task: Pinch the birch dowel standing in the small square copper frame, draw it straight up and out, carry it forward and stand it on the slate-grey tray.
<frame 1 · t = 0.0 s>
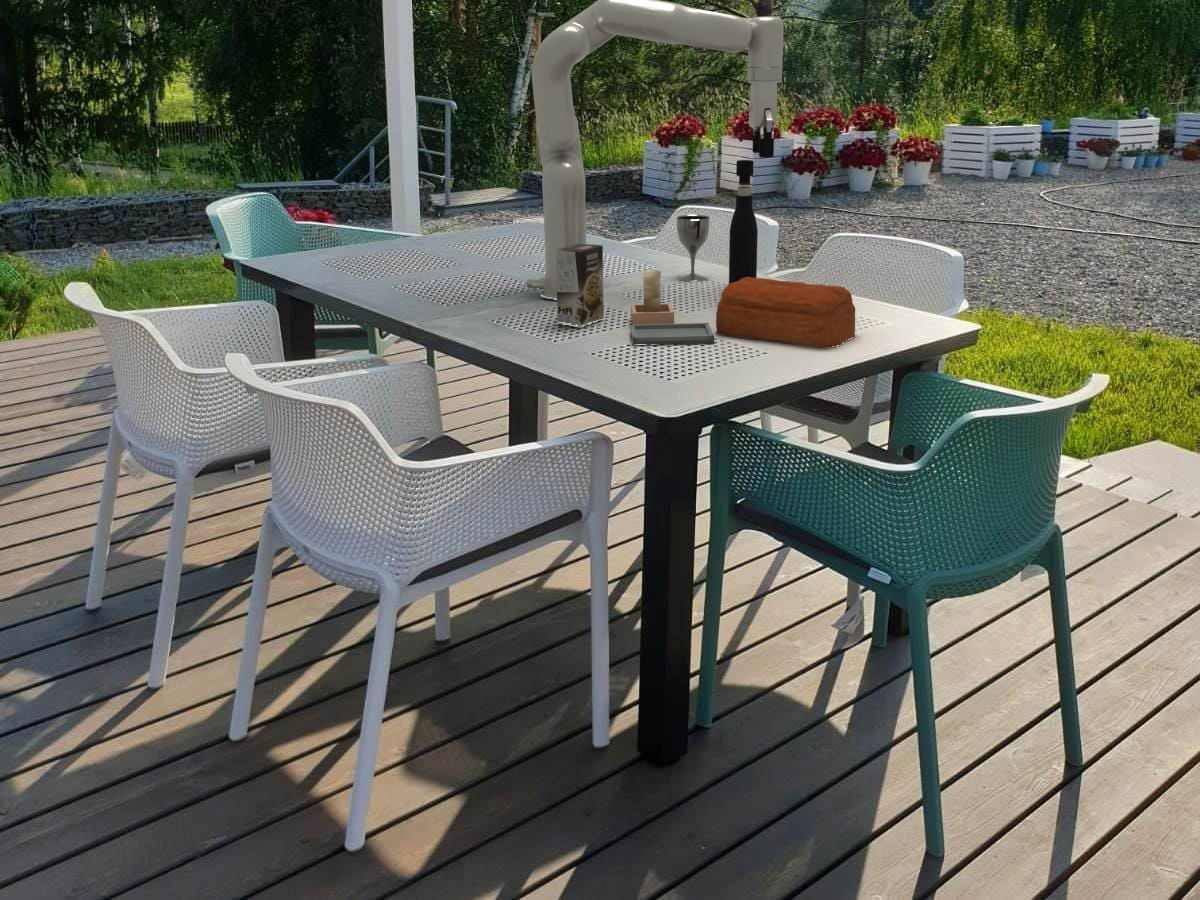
hand: (762, 154, 278), 31 cm above the table, tool pointing down, fingers open, 9 cm apart
bread: (784, 336, 250), on the table
dowel: (652, 297, 259), in the square copper frame
wine glass: (692, 279, 304), on the table
square copper frame: (652, 323, 261), on the table
coffee box: (581, 323, 262), on the table
tray: (671, 337, 248), on the table
wine bottle: (742, 292, 288), on the table
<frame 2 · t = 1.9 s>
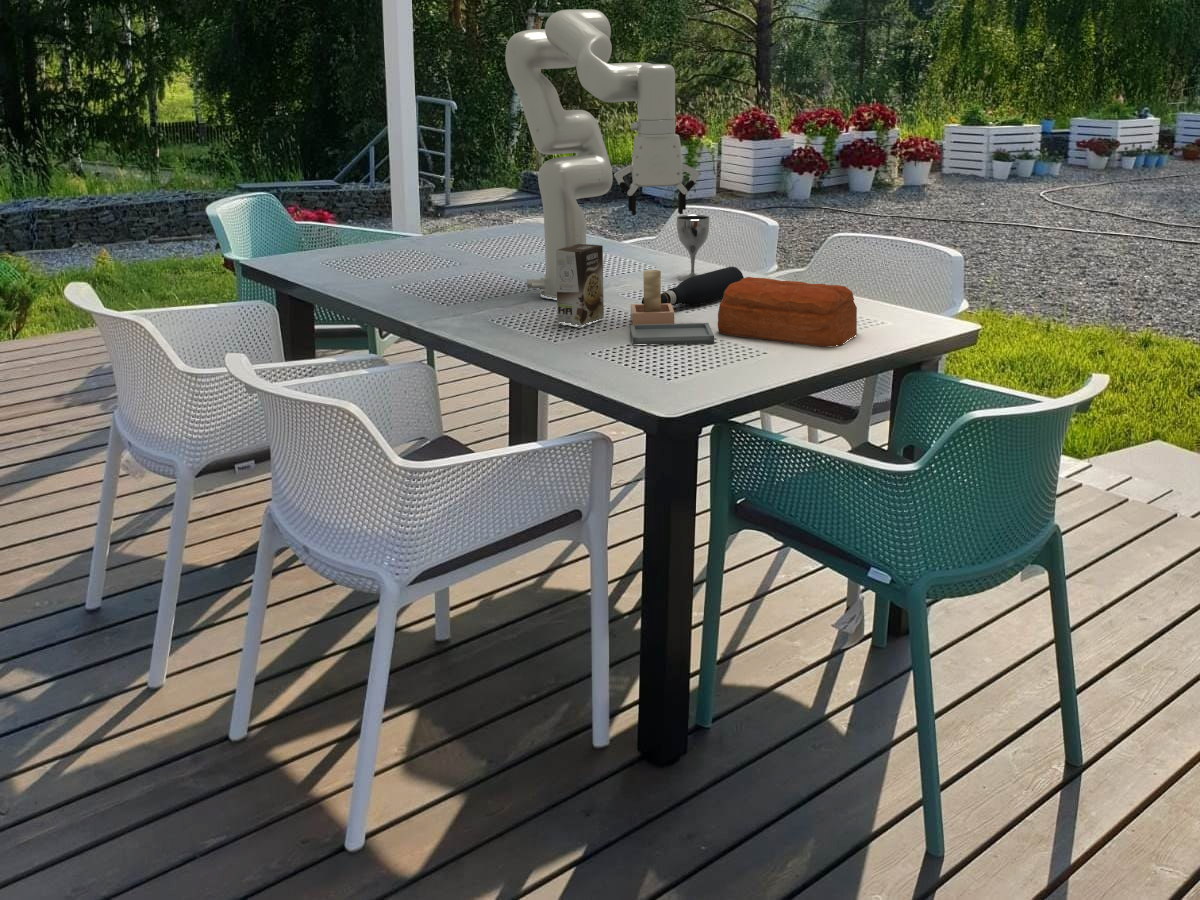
hand: (657, 213, 254), 23 cm above the table, tool pointing down, fingers open, 9 cm apart
wine bottle: (733, 280, 286), point 3 cm above the table
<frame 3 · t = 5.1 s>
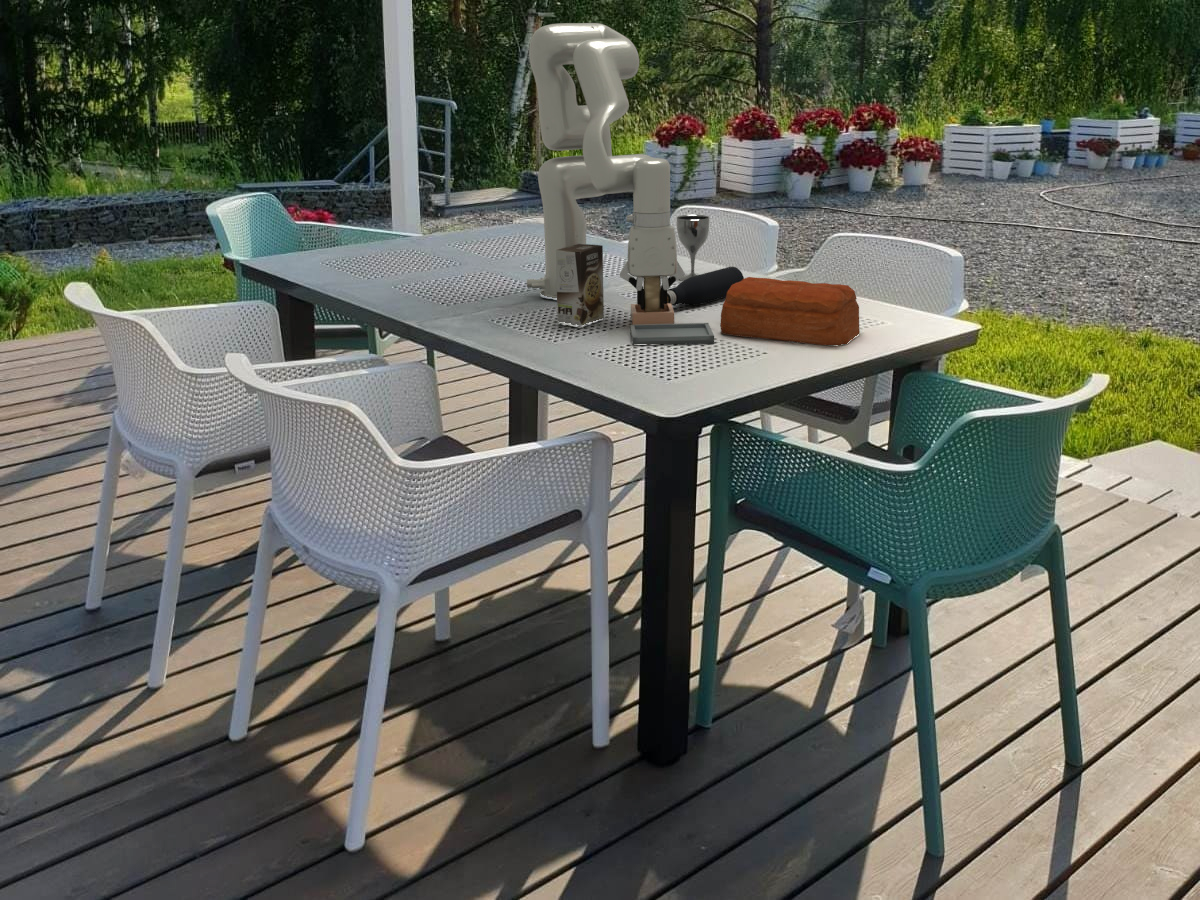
hand: (652, 307, 259), 3 cm above the table, tool pointing down, fingers closed on dowel, 3 cm apart
dowel: (652, 297, 259), in the square copper frame, touching gripper
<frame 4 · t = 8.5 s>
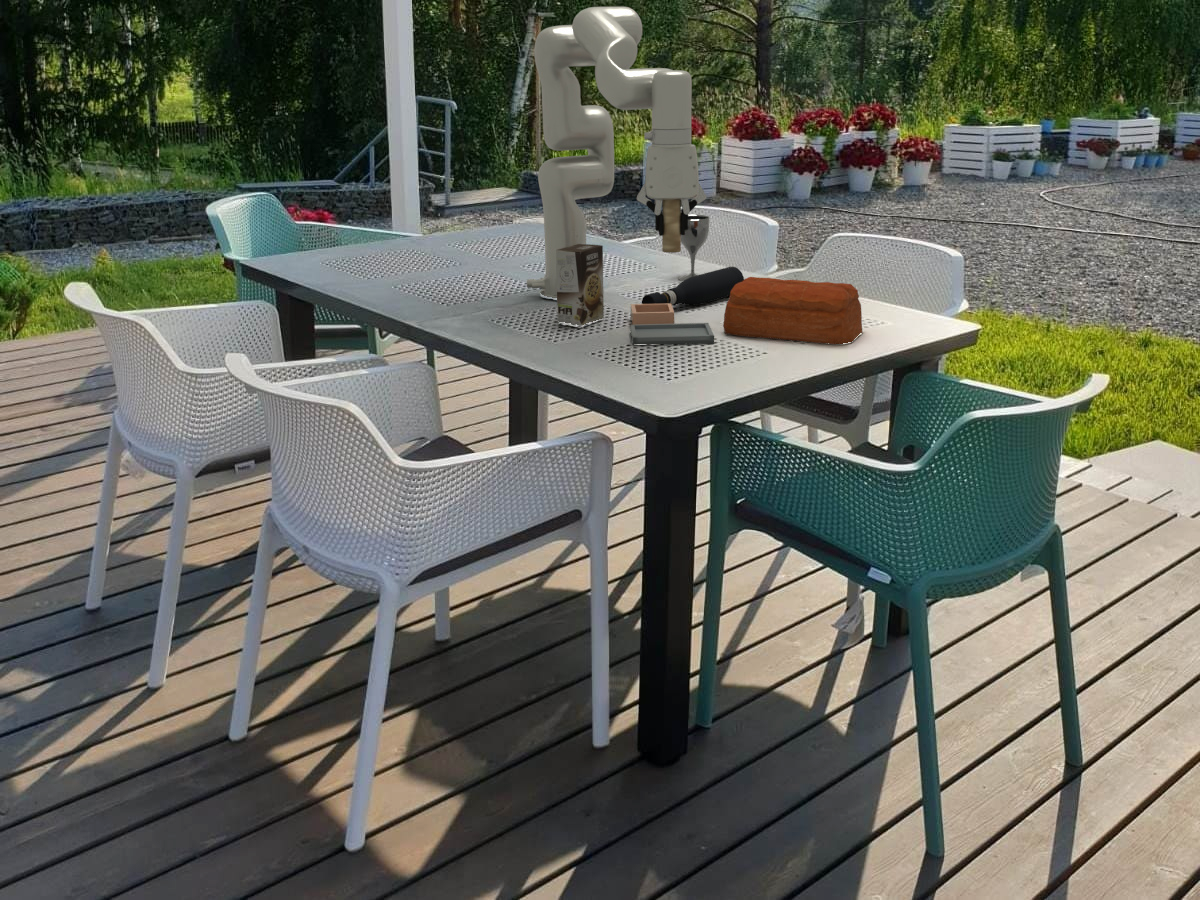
hand: (671, 233, 241), 21 cm above the table, tool pointing down, fingers closed on dowel, 3 cm apart
dowel: (671, 222, 241), point 23 cm above the table, touching gripper
wine bottle: (733, 280, 285), point 3 cm above the table, touching square copper frame
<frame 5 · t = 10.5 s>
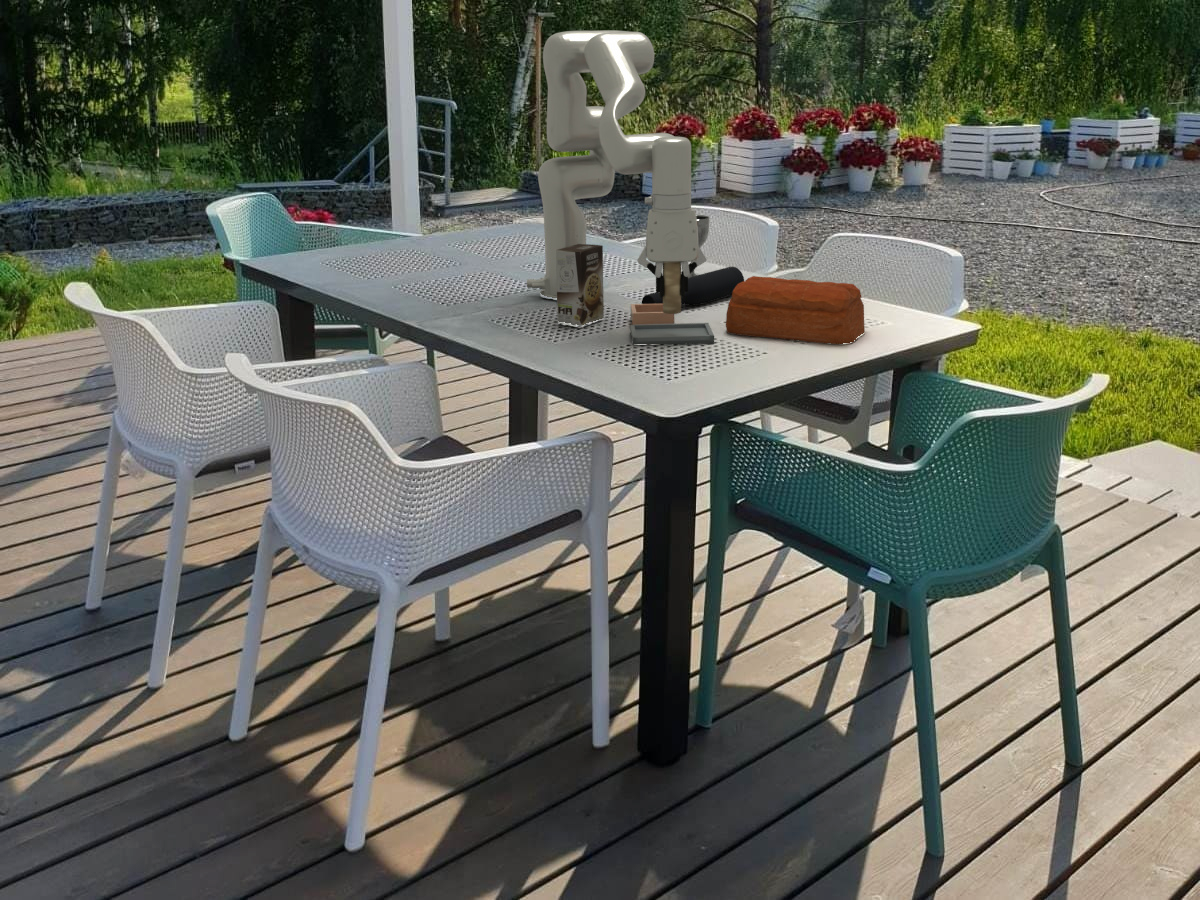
hand: (671, 294, 245), 9 cm above the table, tool pointing down, fingers closed on dowel, 3 cm apart
dowel: (671, 284, 245), point 11 cm above the table, touching gripper
wine bottle: (733, 280, 285), point 3 cm above the table
when the fingers open (5 cm above the table, at t = 12.0 s): dowel stays where it is, resting on tray.
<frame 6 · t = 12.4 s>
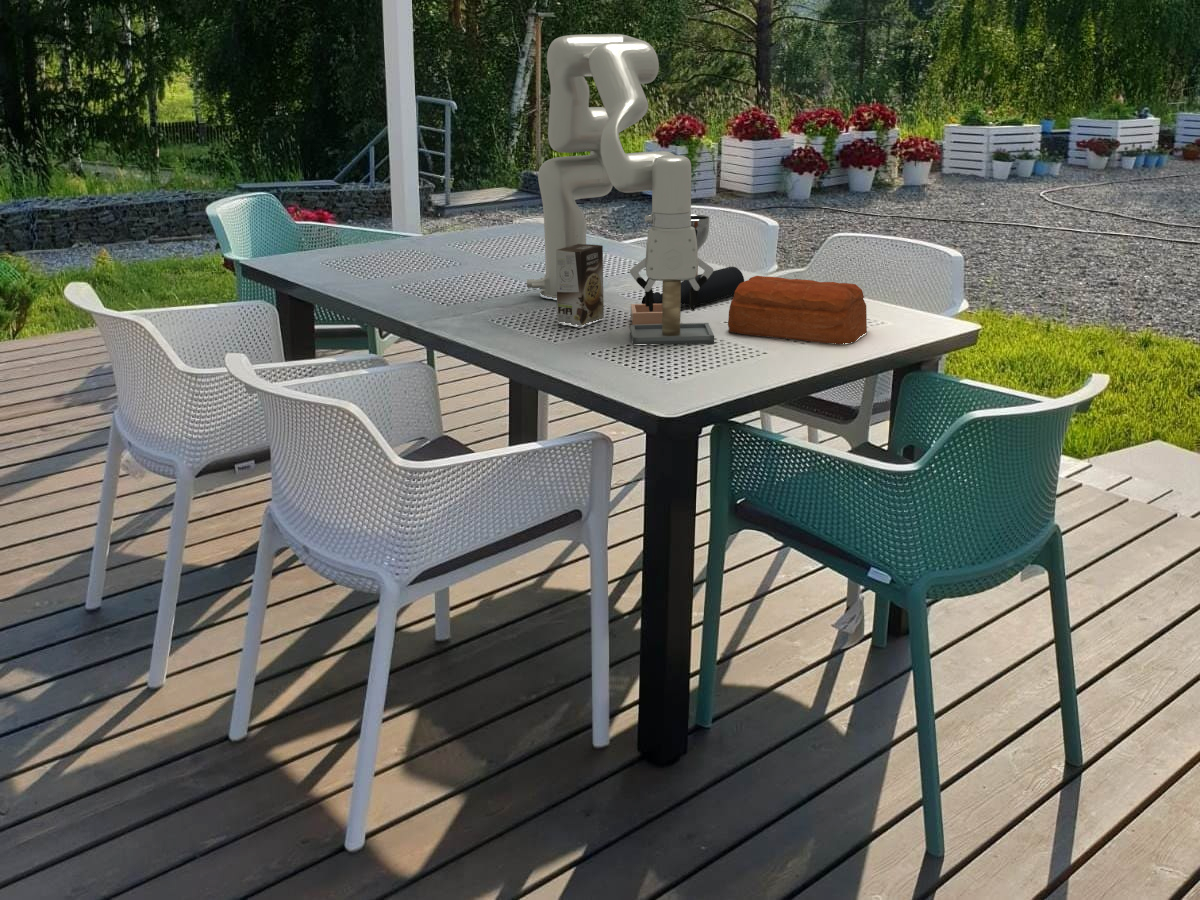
hand: (671, 309, 246), 6 cm above the table, tool pointing down, fingers open, 7 cm apart
dowel: (671, 307, 246), point 6 cm above the table, touching tray
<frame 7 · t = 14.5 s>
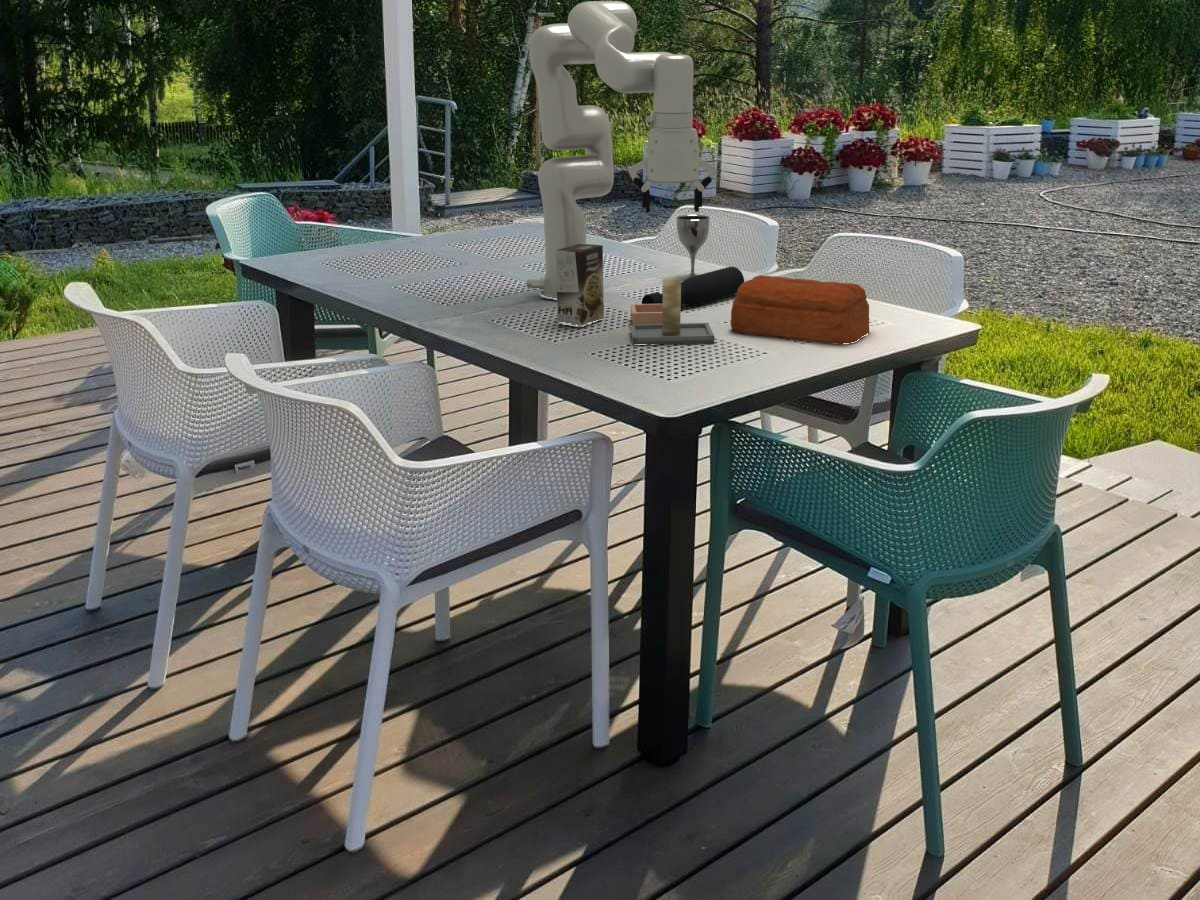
hand: (671, 211, 243), 25 cm above the table, tool pointing down, fingers open, 9 cm apart
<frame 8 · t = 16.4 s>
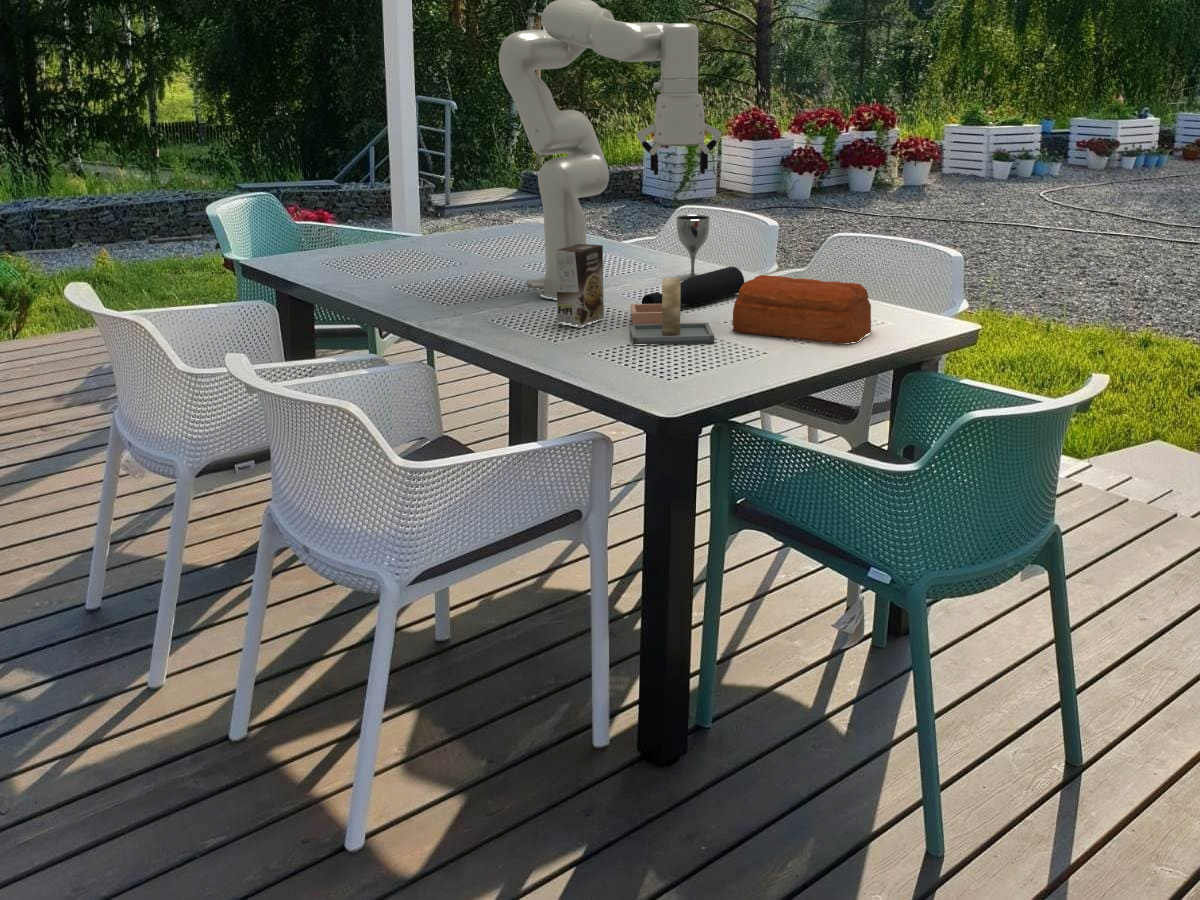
hand: (679, 173, 255), 30 cm above the table, tool pointing down, fingers open, 9 cm apart
at the end: dowel inside the target area on the tray (0.0 cm from its centre), point 6.3 cm above the tray's base; dowel tilted 1°; the gripper is holding nothing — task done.
